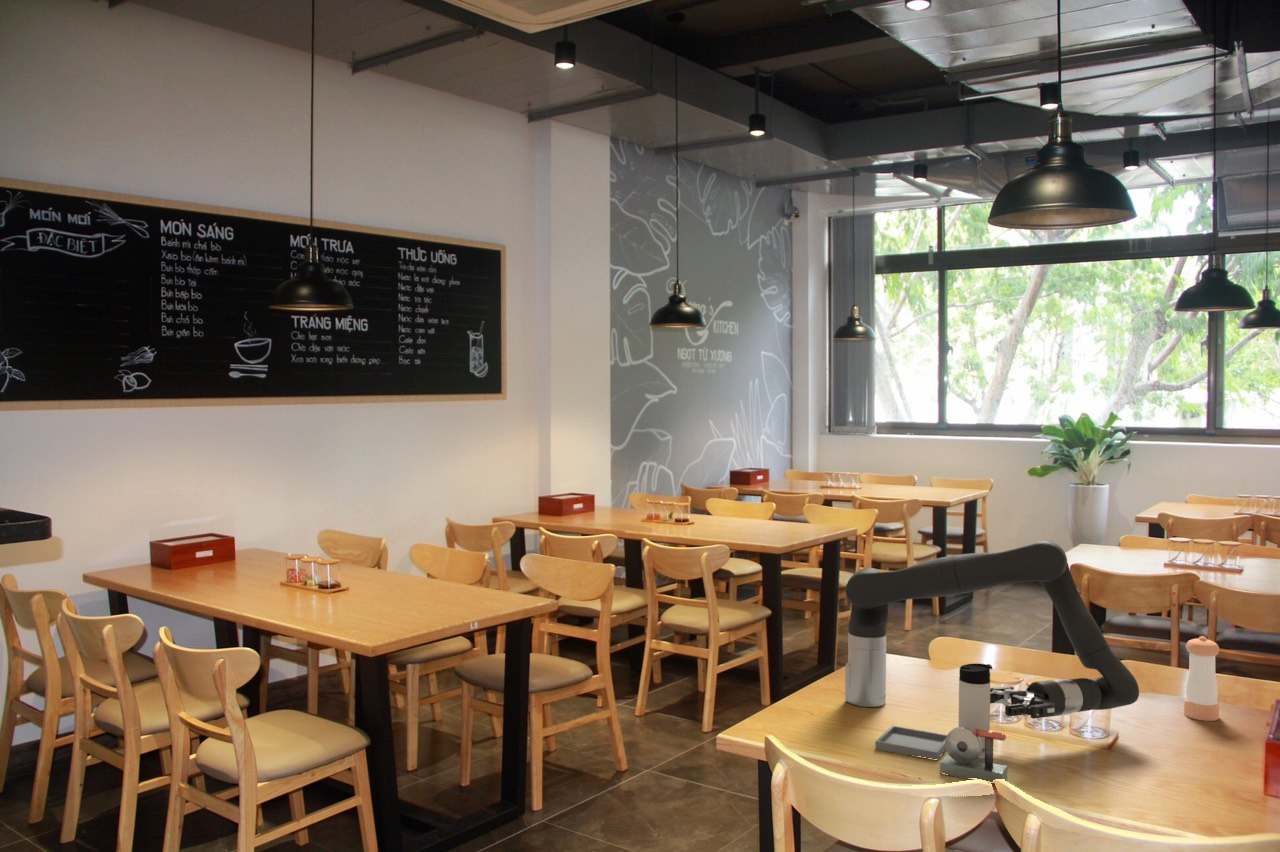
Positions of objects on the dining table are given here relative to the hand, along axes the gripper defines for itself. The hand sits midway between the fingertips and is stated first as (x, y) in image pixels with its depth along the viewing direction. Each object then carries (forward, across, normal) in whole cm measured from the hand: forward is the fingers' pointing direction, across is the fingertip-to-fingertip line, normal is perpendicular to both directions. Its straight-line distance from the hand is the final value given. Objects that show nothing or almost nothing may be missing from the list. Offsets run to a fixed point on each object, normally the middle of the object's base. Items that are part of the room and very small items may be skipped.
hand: (992, 705), depth 212 cm
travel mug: (+4, 0, +11) cm, 12 cm away
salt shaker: (-65, -6, +11) cm, 66 cm away
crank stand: (+11, +8, +11) cm, 17 cm away
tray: (+12, -10, +11) cm, 20 cm away
